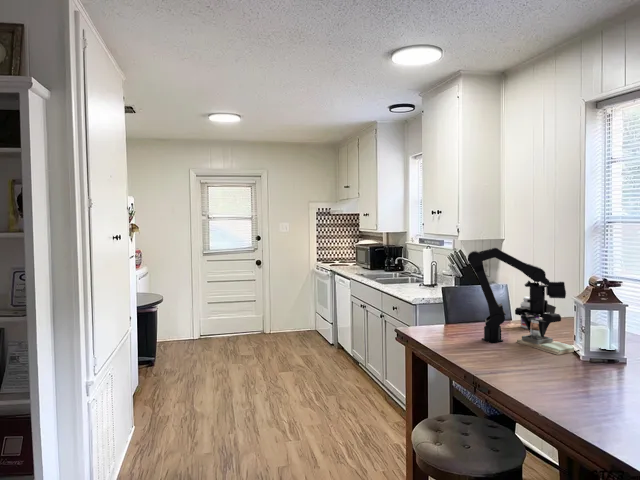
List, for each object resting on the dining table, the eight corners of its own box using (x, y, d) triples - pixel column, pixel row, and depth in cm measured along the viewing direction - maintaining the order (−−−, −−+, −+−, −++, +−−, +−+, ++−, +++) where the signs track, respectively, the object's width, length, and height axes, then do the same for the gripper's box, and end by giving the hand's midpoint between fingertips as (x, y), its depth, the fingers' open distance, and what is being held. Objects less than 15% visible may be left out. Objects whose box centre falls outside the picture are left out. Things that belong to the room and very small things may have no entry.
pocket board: (557, 354, 176) (557, 348, 176) (516, 342, 195) (516, 336, 195) (580, 350, 181) (580, 344, 181) (538, 338, 199) (538, 332, 199)
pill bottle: (542, 329, 215) (542, 298, 215) (524, 329, 215) (524, 299, 215) (534, 325, 223) (534, 295, 223) (517, 325, 224) (517, 296, 223)
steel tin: (537, 345, 189) (537, 321, 188) (527, 342, 194) (527, 318, 193) (547, 344, 191) (547, 320, 190) (536, 341, 196) (536, 317, 195)
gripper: (571, 299, 186) (570, 337, 187) (533, 292, 203) (533, 328, 204) (550, 301, 182) (550, 341, 182) (514, 295, 199) (514, 331, 200)
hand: (537, 335), depth 192 cm, fingers closed on steel tin, 5 cm apart
